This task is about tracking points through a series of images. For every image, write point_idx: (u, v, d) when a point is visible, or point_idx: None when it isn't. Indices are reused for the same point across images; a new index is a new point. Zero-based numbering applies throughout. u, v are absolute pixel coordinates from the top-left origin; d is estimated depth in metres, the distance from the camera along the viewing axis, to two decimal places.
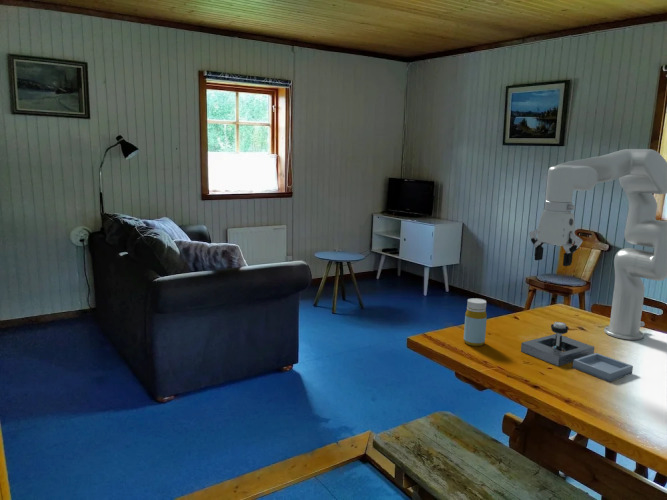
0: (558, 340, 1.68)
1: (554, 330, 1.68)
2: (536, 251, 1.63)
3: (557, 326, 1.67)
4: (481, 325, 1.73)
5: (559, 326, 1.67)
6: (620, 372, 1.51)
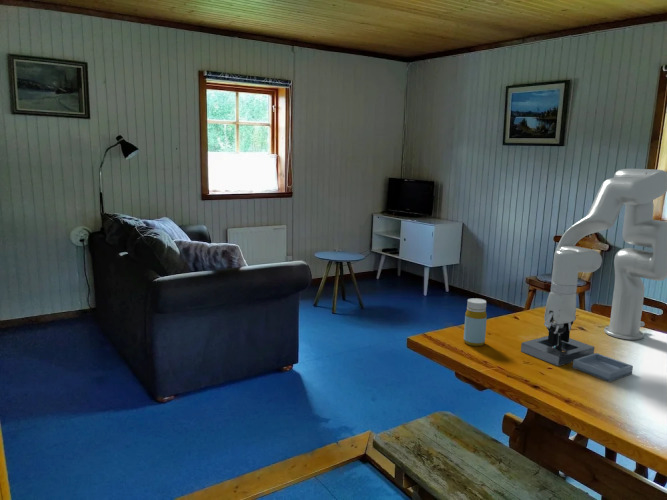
0: None
1: None
2: (557, 337, 1.66)
3: None
4: (481, 325, 1.73)
5: None
6: (620, 372, 1.51)
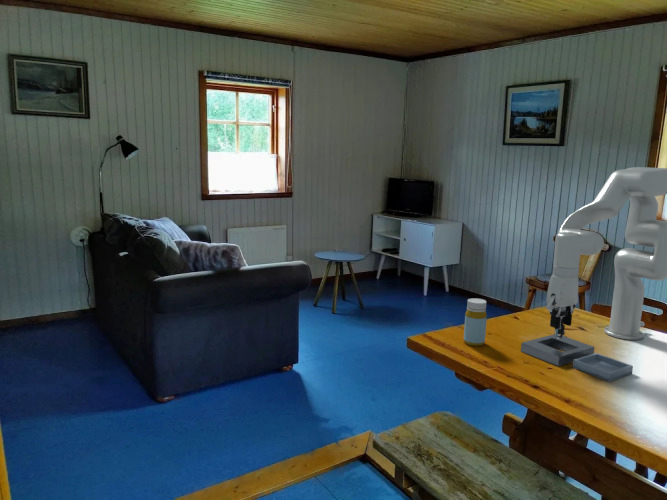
0: None
1: None
2: None
3: None
4: (481, 325, 1.73)
5: None
6: (620, 372, 1.51)
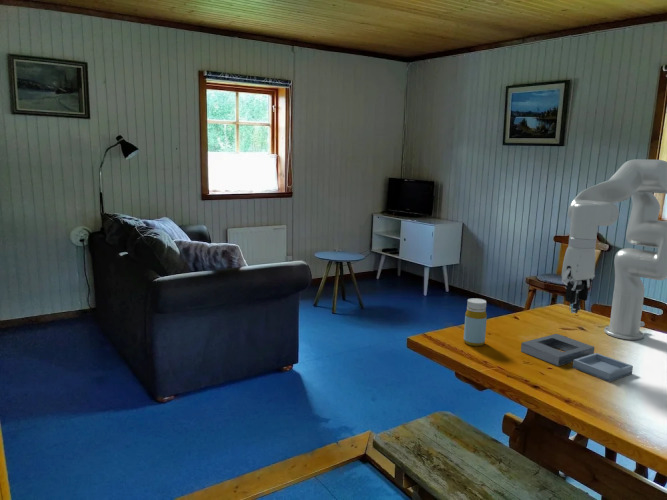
0: None
1: None
2: (575, 294, 1.59)
3: (572, 283, 1.61)
4: (481, 325, 1.73)
5: None
6: (620, 372, 1.51)
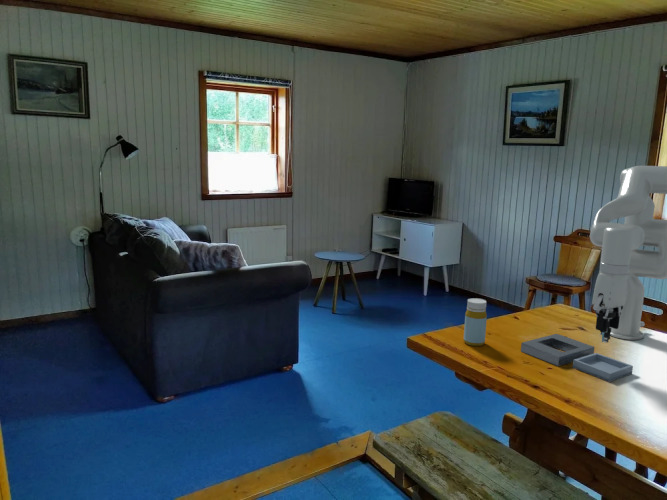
0: None
1: None
2: (607, 322, 1.51)
3: (603, 310, 1.53)
4: (481, 325, 1.73)
5: None
6: (620, 372, 1.51)
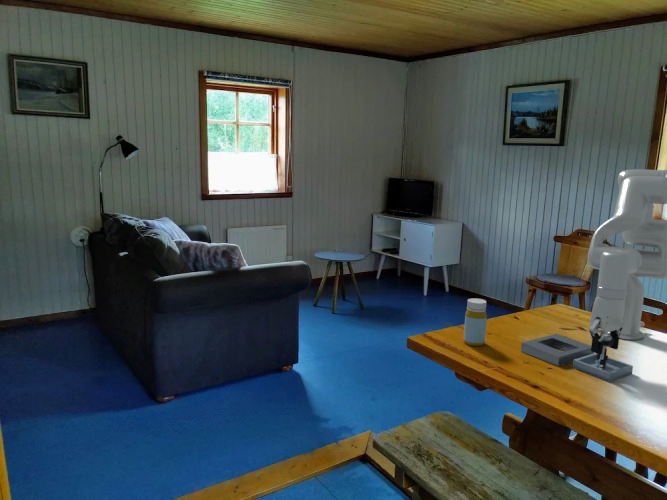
0: (602, 353, 1.55)
1: None
2: (602, 345, 1.52)
3: None
4: (481, 325, 1.73)
5: (604, 338, 1.54)
6: (620, 372, 1.51)
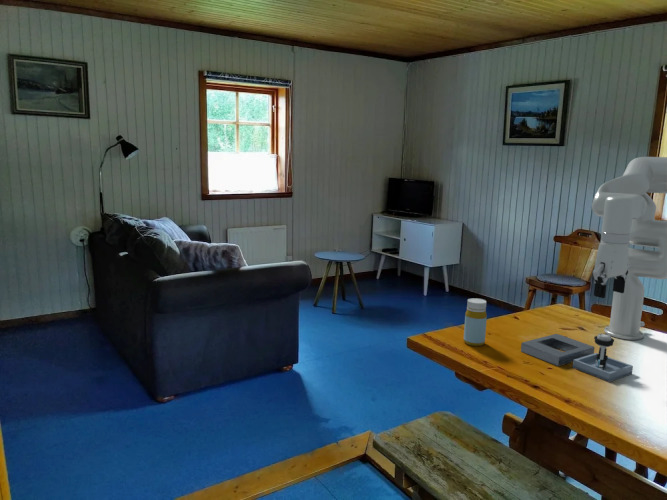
0: (602, 353, 1.55)
1: (598, 342, 1.55)
2: (605, 288, 1.51)
3: (601, 338, 1.54)
4: (481, 325, 1.73)
5: (604, 338, 1.54)
6: (620, 372, 1.51)
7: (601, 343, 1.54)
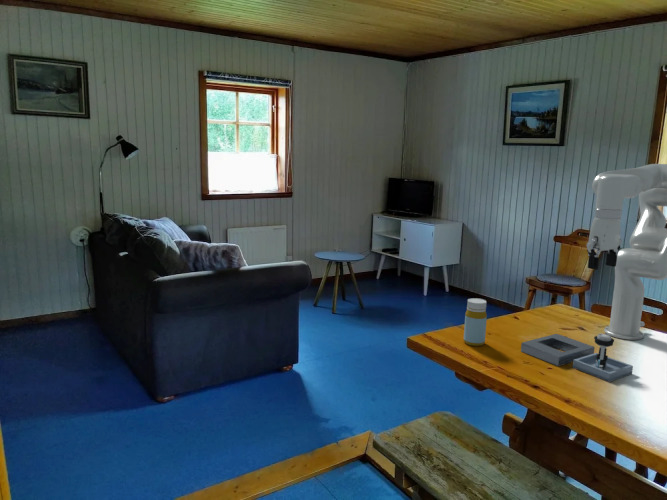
0: (602, 353, 1.55)
1: (598, 342, 1.55)
2: (598, 260, 1.63)
3: (601, 338, 1.54)
4: (481, 325, 1.73)
5: (604, 338, 1.54)
6: (620, 372, 1.51)
7: (601, 343, 1.54)
